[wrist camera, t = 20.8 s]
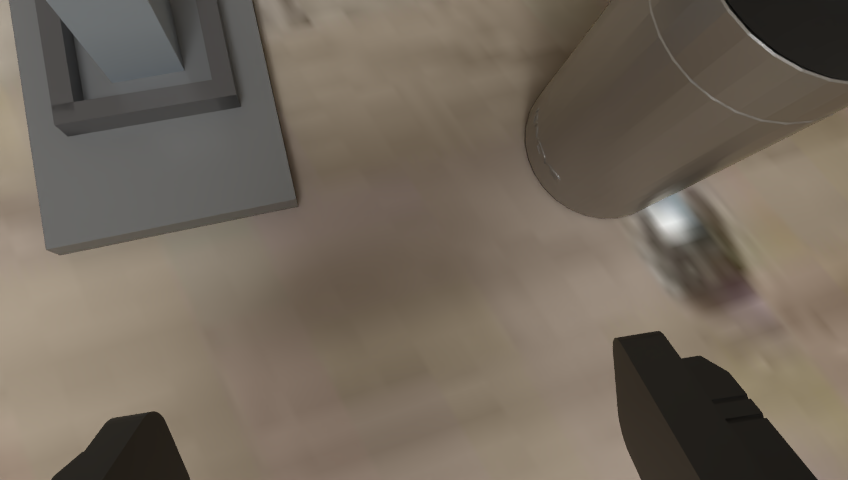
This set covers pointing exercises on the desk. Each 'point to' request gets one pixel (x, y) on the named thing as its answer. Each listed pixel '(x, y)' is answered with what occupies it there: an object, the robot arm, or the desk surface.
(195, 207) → the power dock
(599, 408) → the desk surface
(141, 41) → the plug
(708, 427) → the robot arm
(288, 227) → the desk surface
